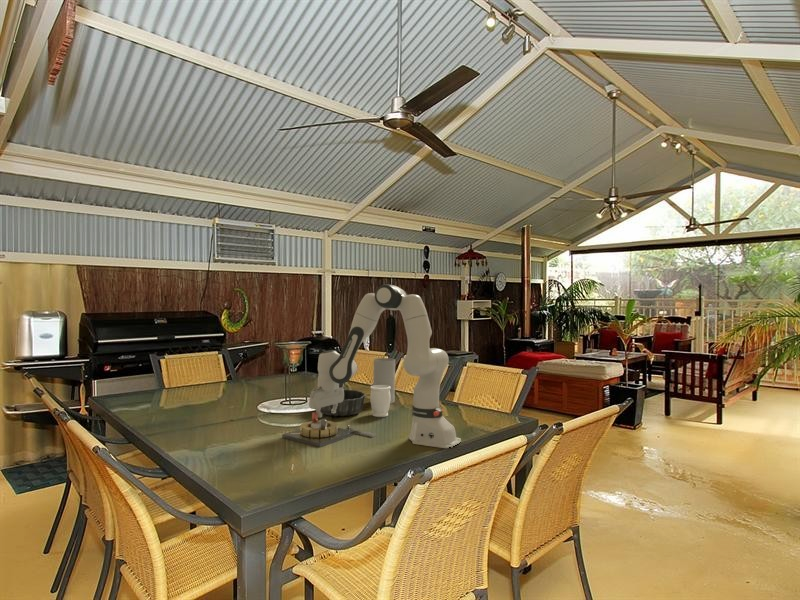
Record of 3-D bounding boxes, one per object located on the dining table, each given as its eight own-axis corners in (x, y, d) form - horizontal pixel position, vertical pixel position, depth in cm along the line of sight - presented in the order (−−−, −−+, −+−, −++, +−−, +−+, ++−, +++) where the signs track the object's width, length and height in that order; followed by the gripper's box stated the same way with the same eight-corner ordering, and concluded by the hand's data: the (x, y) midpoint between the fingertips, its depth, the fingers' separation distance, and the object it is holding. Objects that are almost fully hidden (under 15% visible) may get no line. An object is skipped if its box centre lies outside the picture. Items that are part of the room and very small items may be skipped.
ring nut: (344, 431, 211) (345, 415, 211) (319, 439, 197) (320, 422, 197) (318, 425, 219) (318, 410, 219) (292, 433, 206) (292, 417, 206)
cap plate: (354, 434, 211) (354, 422, 211) (320, 447, 193) (320, 433, 193) (317, 426, 224) (317, 414, 223) (282, 437, 205) (282, 425, 205)
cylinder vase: (375, 405, 270) (376, 361, 270) (371, 400, 282) (371, 358, 282) (396, 404, 273) (397, 360, 273) (391, 399, 285) (392, 358, 285)
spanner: (376, 436, 210) (376, 429, 210) (371, 437, 207) (371, 431, 207) (348, 430, 218) (348, 424, 218) (344, 431, 216) (344, 425, 216)
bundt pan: (369, 418, 241) (369, 398, 241) (316, 420, 235) (316, 400, 235) (361, 406, 267) (362, 388, 267) (314, 408, 261) (314, 389, 261)
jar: (391, 413, 251) (391, 385, 251) (389, 418, 241) (389, 388, 241) (371, 412, 252) (372, 384, 252) (368, 417, 242) (368, 388, 242)
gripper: (316, 389, 210) (316, 420, 210) (346, 383, 227) (345, 411, 227) (306, 387, 214) (305, 418, 214) (336, 381, 231) (335, 410, 231)
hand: (326, 415), depth 221 cm, fingers open, 8 cm apart
